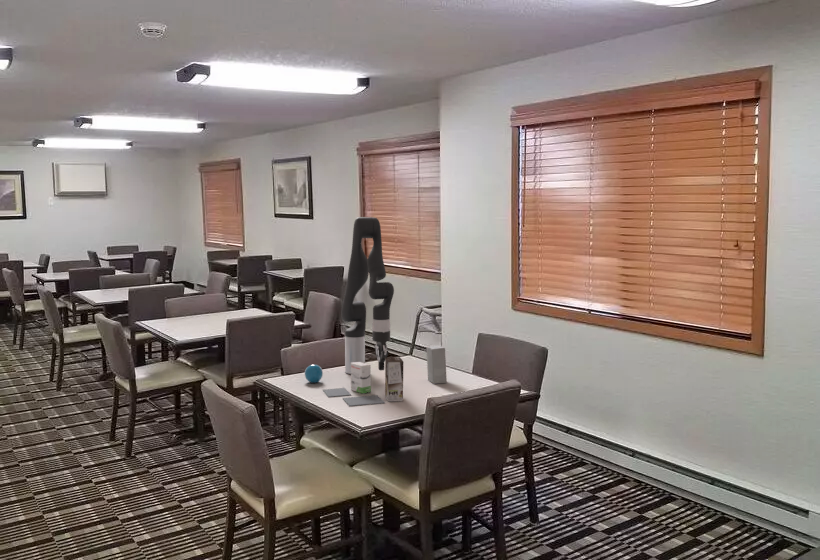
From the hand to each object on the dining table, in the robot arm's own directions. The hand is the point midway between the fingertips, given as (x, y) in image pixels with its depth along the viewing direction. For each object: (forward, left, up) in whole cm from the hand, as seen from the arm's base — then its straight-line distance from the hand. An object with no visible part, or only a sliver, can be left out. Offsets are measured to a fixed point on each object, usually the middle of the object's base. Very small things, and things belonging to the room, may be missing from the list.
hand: (381, 369), depth 291 cm
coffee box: (+15, +1, -9) cm, 17 cm away
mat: (+7, -14, -8) cm, 18 cm away
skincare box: (-5, +27, -9) cm, 29 cm away
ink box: (0, -9, -9) cm, 13 cm away
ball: (-20, -25, -9) cm, 33 cm away
